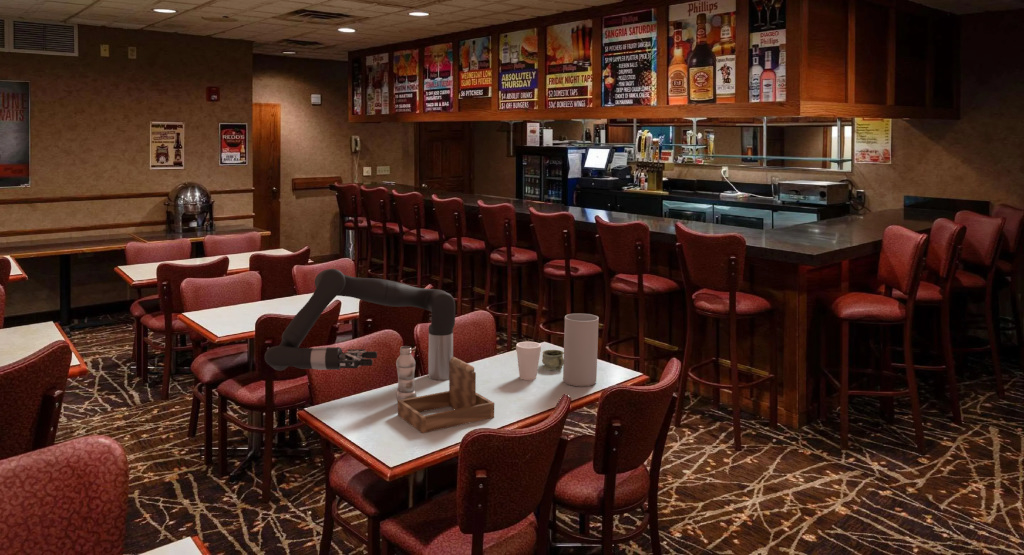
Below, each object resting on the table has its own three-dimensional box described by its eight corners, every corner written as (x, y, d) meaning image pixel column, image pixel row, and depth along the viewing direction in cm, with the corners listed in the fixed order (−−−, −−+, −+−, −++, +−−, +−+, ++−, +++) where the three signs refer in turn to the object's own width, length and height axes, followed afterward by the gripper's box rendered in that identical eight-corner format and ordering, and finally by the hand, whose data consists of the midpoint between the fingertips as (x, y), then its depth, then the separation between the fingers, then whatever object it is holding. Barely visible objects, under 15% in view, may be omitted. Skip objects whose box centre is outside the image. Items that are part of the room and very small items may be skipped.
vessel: (571, 369, 299) (571, 353, 298) (555, 373, 293) (555, 357, 292) (550, 362, 308) (550, 347, 307) (534, 366, 302) (534, 351, 301)
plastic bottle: (412, 408, 253) (412, 350, 249) (393, 406, 254) (392, 349, 250) (419, 401, 259) (418, 345, 255) (400, 400, 260) (399, 344, 257)
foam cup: (512, 379, 284) (512, 346, 282) (520, 372, 293) (521, 340, 290) (535, 382, 281) (536, 349, 279) (543, 375, 290) (544, 343, 287)
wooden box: (397, 415, 246) (397, 363, 243) (467, 401, 260) (467, 351, 257) (422, 433, 231) (421, 378, 228) (494, 417, 245) (494, 365, 242)
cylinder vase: (562, 376, 289) (564, 313, 285) (594, 377, 289) (597, 313, 284) (563, 386, 277) (565, 320, 272) (597, 387, 277) (600, 321, 272)
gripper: (320, 353, 246) (370, 353, 246) (331, 342, 260) (378, 342, 260) (322, 375, 247) (371, 375, 247) (332, 362, 261) (378, 362, 261)
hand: (374, 358), depth 254 cm, fingers open, 8 cm apart
